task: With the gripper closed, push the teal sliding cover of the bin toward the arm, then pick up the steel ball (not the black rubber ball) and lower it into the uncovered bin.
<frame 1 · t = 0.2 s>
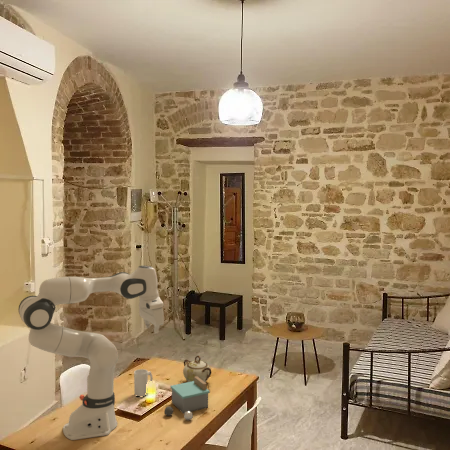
hand: (152, 330, 218), 39 cm above the table, tool pointing down, fingers open, 8 cm apart
bin: (189, 405, 231), on the table
lid: (189, 386, 230), point 9 cm above the table, slide at 0.0 cm
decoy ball: (168, 415, 220), on the table
steel ball: (188, 419, 216), on the table
mug: (143, 394, 243), on the table
sugar bowl: (197, 383, 258), on the table
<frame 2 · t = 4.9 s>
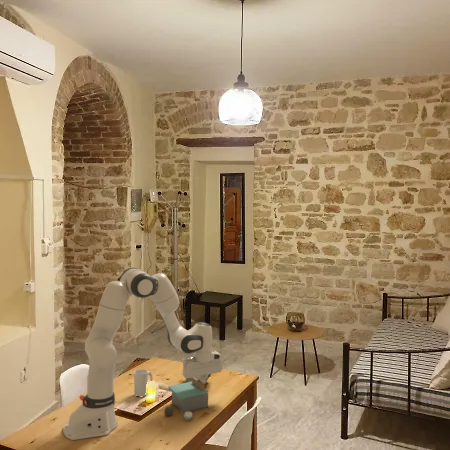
hand: (202, 383, 234), 9 cm above the table, tool pointing down, fingers closed
lid: (187, 386, 230), point 9 cm above the table, slide at 1.2 cm, touching gripper
everything else where it was.
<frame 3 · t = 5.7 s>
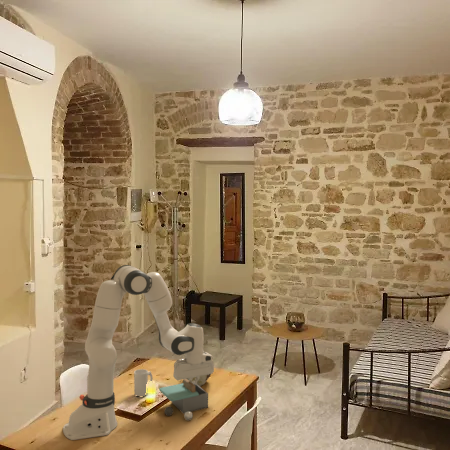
hand: (193, 385, 231), 9 cm above the table, tool pointing down, fingers closed
lid: (178, 388, 227), point 9 cm above the table, slide at 5.9 cm, touching gripper
everything else where it was.
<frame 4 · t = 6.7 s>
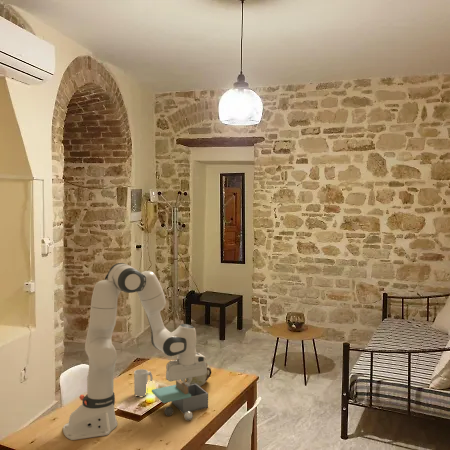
hand: (186, 386, 229), 10 cm above the table, tool pointing down, fingers closed
lid: (171, 390, 226), point 9 cm above the table, slide at 9.7 cm, touching gripper
everything else where it was.
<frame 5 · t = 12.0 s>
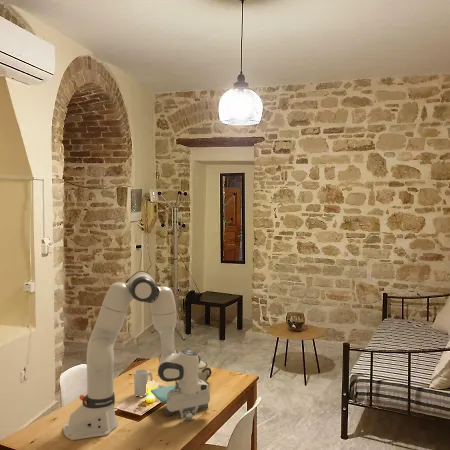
hand: (188, 416, 216), 2 cm above the table, tool pointing down, fingers closed on steel ball, 4 cm apart
lid: (170, 390, 225), point 9 cm above the table, slide at 10.0 cm
steel ball: (188, 419, 216), on the table, touching gripper
everything else where it was.
when the fingers open (6 cm above the table, at t = 18.7 s): steel ball drops 4 cm, resting on bin.
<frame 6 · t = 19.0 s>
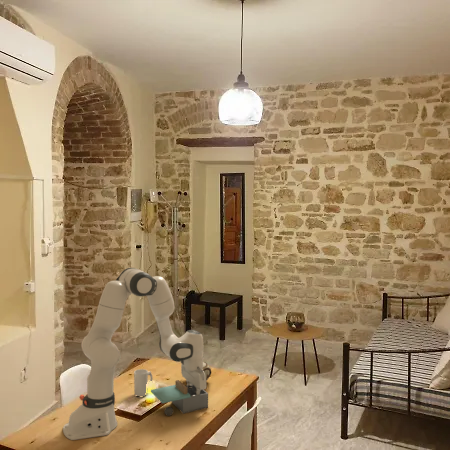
hand: (193, 392, 232), 6 cm above the table, tool pointing down, fingers open, 7 cm apart
steel ball: (193, 402, 232), point 1 cm above the table, tilted 11°, touching bin
everything else where it was.
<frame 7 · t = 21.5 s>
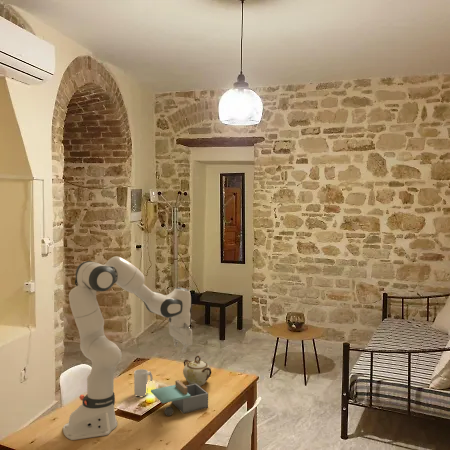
hand: (180, 349, 233), 26 cm above the table, tool pointing down, fingers open, 8 cm apart
steel ball: (194, 399, 231), point 3 cm above the table, tilted 91°, touching bin
everything else where it was.
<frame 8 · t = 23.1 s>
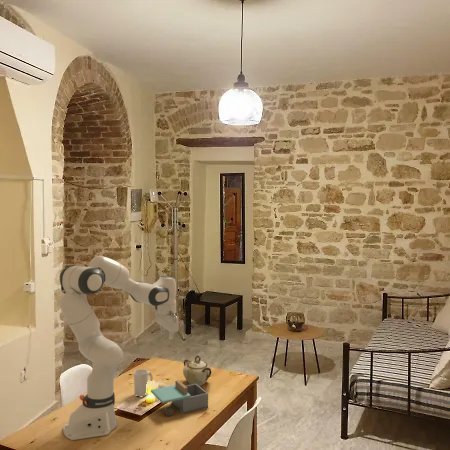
hand: (166, 336, 236), 31 cm above the table, tool pointing down, fingers open, 8 cm apart
steel ball: (195, 399, 230), point 3 cm above the table, tilted 106°, touching bin
everything else where it was.
at the end: lid slide at 10.0 cm; steel ball inside the target area on the bin (2.6 cm from its centre), point 3.1 cm above the bin's base; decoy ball moved 0.0 cm from its start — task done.
